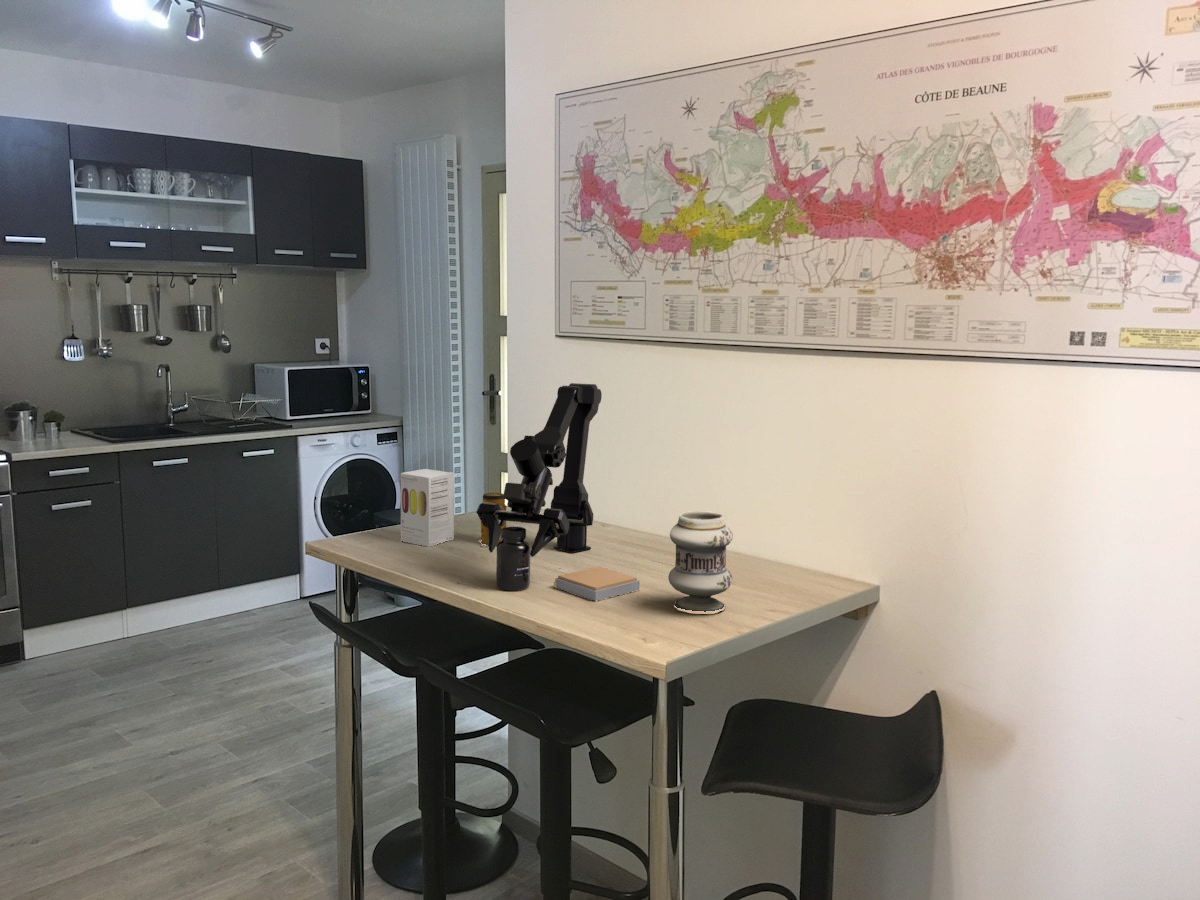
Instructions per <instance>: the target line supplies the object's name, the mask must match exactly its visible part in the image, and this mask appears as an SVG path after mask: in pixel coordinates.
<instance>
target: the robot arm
mask: <svg viewBox="0 0 1200 900" xmlns="http://www.w3.org/2000/svg"><path fill="white" fill-rule="evenodd" d="M556 394H557V397H556V400H555V402H554V403H553V406H552V409H551V412H550V413H549V415H548V419H547V420H546V423H545V426H544V427H543V429H542V430H540V431H539V432H537V433H535V434H534V435H524V437H523V439H521V440H520V439H519V440H518V441H516V442H515V443H514V444H512V446H511V447H510V451H509V454H510V456H511V459H512V461H513V463H514V464H515V467H516V469H517V471H518V474H520V475H521V476H522V480H521V482H520V483H518V482H516V483H515V482H506V483H505V485H504V490H503V494H504V495H503V499H504V500H506V501H507V507H508V509H509V508H511V510H510V511H509V510H506V511H502V510H501V508H500V506H499V505H498V504H496V503H485V502H483V501H482V502H481V503H480V504H479V505H478V506H477V509H476V515H477V516H478V518H479V520H480V522H481V521H482V523H483V525H484V526H485V527H487V528H488V532H489V546H488V551H489V553H493V551H494V550H495V548H497V546H496V544H497V542H498V540H499V537H500V535H501V533H502V528H501V526H503V523H504V521H506V522H514V523H515V522H516V523H522V524H532V525H533V524H534V525H538V531H537V533H536V535H535V538H534V541H533V542H532V546H531V552H530V555H531V557H532V558H534V557H535V556H536V555H537V554H538V553H539V552H540V551H541V550H542V549H543V548H544V547H545V546H547V545H548V544H549V543H550V542H551V541H552V540H553V541H554V539H555V538H556V543H557V544H556V545H553V549H556V550H560V551H563V552H566V553H569V554H573V553H579V552H583V551H587V550H591V549H592V547H591V546H589V545H587V534H588V533H587V532H588V530H587V528H588V527H590V526H593V521H594V512H593V510H592V507H591V505H590V502H589V493H588V491H587V489H586V487H585V485H584V477H585V475H584V474H585V466H586V457H587V449H588V439H589V433H590V423H591V421H592V420H593V418H594V417H595V416H596V415H597V413H598V411H599V406H600V404H601V402H602V390H601V388H598V386H597V384H595V383H574V382H573V383H572V382H571V383H570V384H568V385H562V386H559V387H558V389H557V393H556ZM566 434H567V435H566ZM566 436H567V442H566V446H565V444H564V440H565V437H566ZM563 462H564V468H563V475H562V476H563V477H562V481H561V482H560V483H559V484H558V485H556V486H555V487H554V489H553V497H552V500H551V502H550V507H549V508H548V507H547V508H545V506H546V500H545V498H546V496H547V492H548V490H549V487H550V486H553V485H554V484H553V482H554V479H553V473H552V471H551V469H550V468H555V469H556V468H559V467H561V466H562V464H563ZM542 507H543V508H545V509H544V511H543V513H542V514H540V513H541V511H542Z"/></svg>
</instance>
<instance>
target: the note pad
mask: <svg viewBox="0 0 1200 900" xmlns="http://www.w3.org/2000/svg"><path fill="white" fill-rule="evenodd" d="M554 579H555V580H554V581H553V588H554V587H555V588H554V589H557V588H558V589H557V590H560V589H561V590H560V591H562V590H564V591H563V592H565V591H567V592H566V593H568V592H570V593H569V594H571V593H573V594H572V595H574V594H576V595H575V596H577V595H579V596H578V597H580V596H582V597H581V598H583V597H585V598H584V599H586V598H588V599H587V600H589V599H591V600H590V601H592V600H595V601H596V600H601V599H604V600H606V599H605V598H608V599H610V598H609V597H612V598H614V597H613V596H616V597H618V596H617V595H620V596H622V595H621V594H624V595H626V594H625V593H628V592H632V591H635V592H637V591H636V590H639V591H640V582H641V581H640V580H639V579H638V578H637V577H635V576H632V575H628V574H626V573H622V572H618V571H616V570H612V569H609V568H605V567H602V566H595V567H591V568H587V569H582V570H577V571H572V572H568V573H563V574H559V575H557V578H554ZM632 593H633V592H632ZM628 594H629V593H628ZM595 601H594V602H595ZM601 601H602V600H601Z"/></svg>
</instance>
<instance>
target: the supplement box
mask: <svg viewBox="0 0 1200 900" xmlns="http://www.w3.org/2000/svg"><path fill="white" fill-rule="evenodd" d="M454 520H455V473H454V472H450V471H443V470H437V469H436V470H435V469H429V468H423V469H415V470H411V471H403V472H400V542H402V541H403V542H402V543H407V542H408V544H413V545H418V546H421V545H422V546H423V547H426V546H427V548H430V547H433V546H437V544H438V545H440V544H439V543H441V544H444V543H443V542H445V541H448V540H451V539H454V536H455V535H454V534H455V529H454V528H455V525H454V523H455V521H454ZM454 540H455V539H454ZM448 542H449V541H448ZM445 543H446V542H445Z"/></svg>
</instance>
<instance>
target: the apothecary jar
mask: <svg viewBox="0 0 1200 900" xmlns="http://www.w3.org/2000/svg"><path fill="white" fill-rule="evenodd" d="M733 535H734V534H733V532H732V530H731V529H730V528H729V527H728V526H727V525H726V523H725V516H724V514H722V513H720V512H715V511H707V510H693V511H692V510H691V511H690V510H689V511H684V512H681V513H680V514H679V516H678V520H677V523H676V524H674V525H673V526H672V528H671V529H670V531H669V538H670V540H671V542H672V543H673V544H674V545H675V566H674V567H672V568H671V570H670V571H669V573H668V576H667V577H668V582H669V584H670V585H671V587H672V588H673V589H674V590H675V591H678V592H679V593H681V594H683V595H688V596H684V597H680V598H678V599H676V600H675V601H676V603H675V602H674V604H673V605H675V606H676V607H677V608H681V609H685V610H692V611H704V612H706V611H715V610H719V609H722V608H723V607H724V605H725V603H724V602H722V601H721V600H718V599H717V598H715V597H713V596H716V595H720V594H721V593H723V592H724V593H725V592H726V591H727V590H728V589H730V587H731V586H732V584H733V576H732V573H731V571H730V570H729V569H728V568H727V559H726V558H727V555H726V554H727V553H726V552H727V551H726V550H727V546H728V545H730V544H731V542H732V541H733V539H734V538H733V537H734V536H733Z"/></svg>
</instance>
